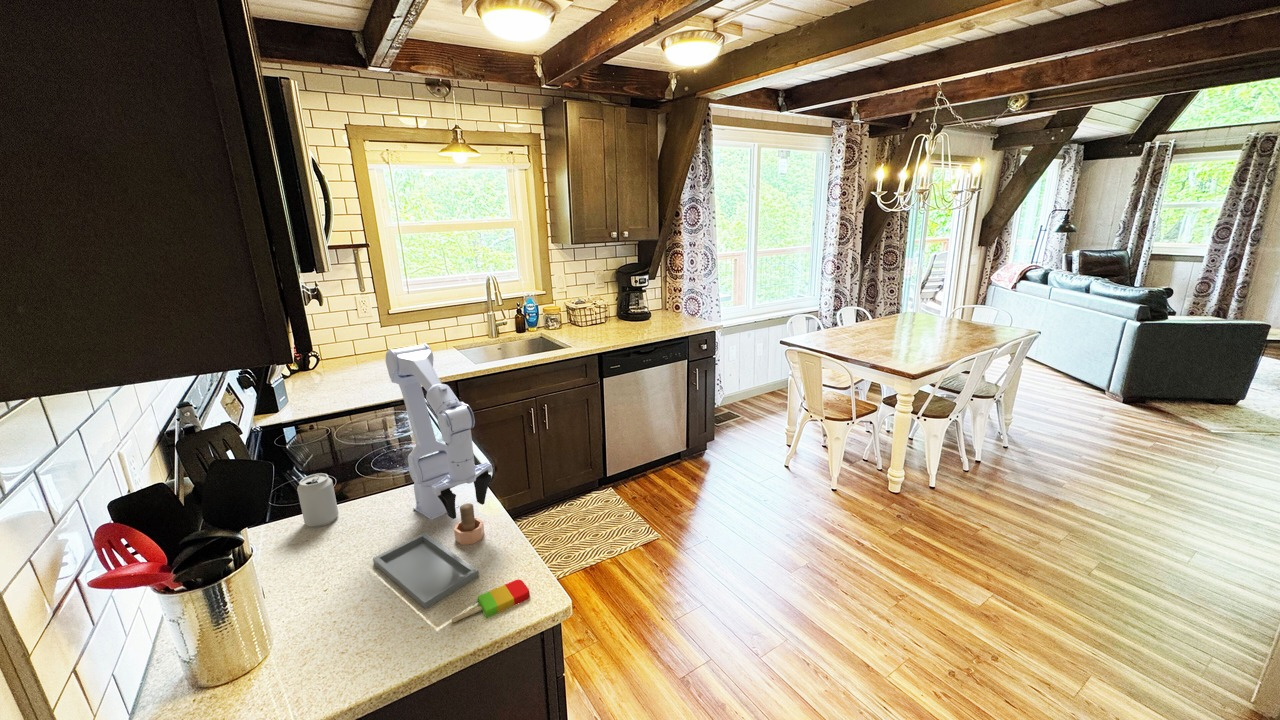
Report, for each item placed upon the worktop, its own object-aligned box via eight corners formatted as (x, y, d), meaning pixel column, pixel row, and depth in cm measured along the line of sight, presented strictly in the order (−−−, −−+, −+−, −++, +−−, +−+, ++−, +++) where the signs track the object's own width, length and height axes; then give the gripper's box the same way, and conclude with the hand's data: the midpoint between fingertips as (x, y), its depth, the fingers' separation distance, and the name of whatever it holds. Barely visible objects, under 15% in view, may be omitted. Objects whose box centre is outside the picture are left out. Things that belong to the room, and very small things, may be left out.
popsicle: (532, 599, 102) (531, 591, 101) (456, 634, 93) (455, 625, 93) (521, 584, 106) (520, 576, 105) (448, 616, 98) (447, 608, 97)
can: (298, 529, 125) (288, 486, 122) (316, 512, 133) (307, 471, 129) (328, 528, 126) (320, 485, 122) (344, 512, 133) (337, 470, 130)
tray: (374, 566, 112) (372, 558, 111) (425, 539, 121) (424, 532, 120) (425, 611, 98) (424, 602, 98) (479, 578, 107) (478, 570, 107)
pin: (460, 537, 121) (457, 507, 118) (471, 531, 123) (468, 502, 121) (468, 541, 119) (464, 511, 117) (479, 535, 121) (475, 506, 119)
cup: (451, 539, 120) (449, 526, 120) (474, 527, 125) (472, 515, 124) (466, 549, 117) (464, 536, 116) (488, 536, 121) (487, 523, 120)
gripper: (440, 474, 107) (448, 530, 111) (497, 450, 118) (502, 502, 122) (423, 465, 112) (431, 519, 115) (480, 443, 123) (485, 493, 126)
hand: (466, 509), depth 119 cm, fingers open, 7 cm apart
